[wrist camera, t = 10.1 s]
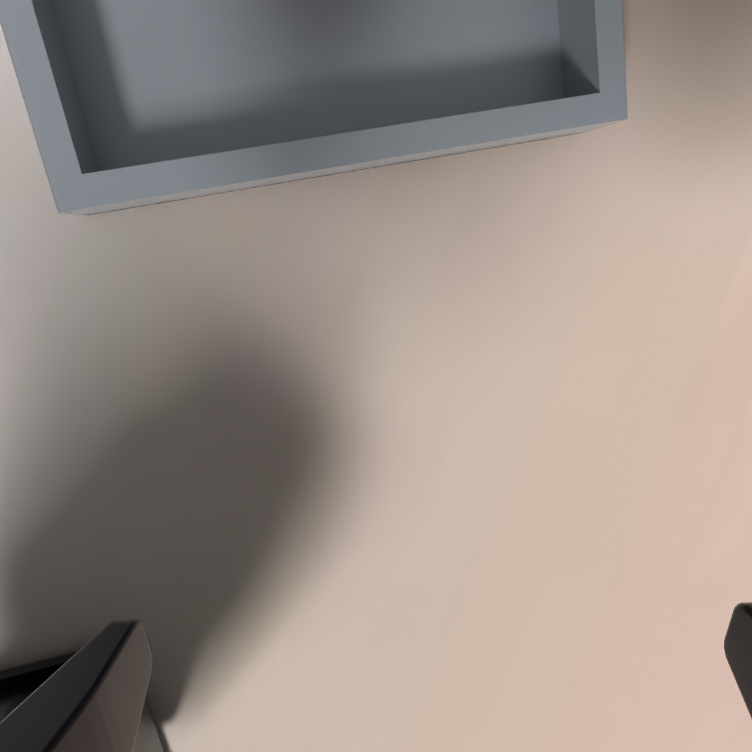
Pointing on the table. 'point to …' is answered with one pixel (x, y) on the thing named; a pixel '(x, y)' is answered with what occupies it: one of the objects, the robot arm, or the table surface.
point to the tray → (297, 87)
